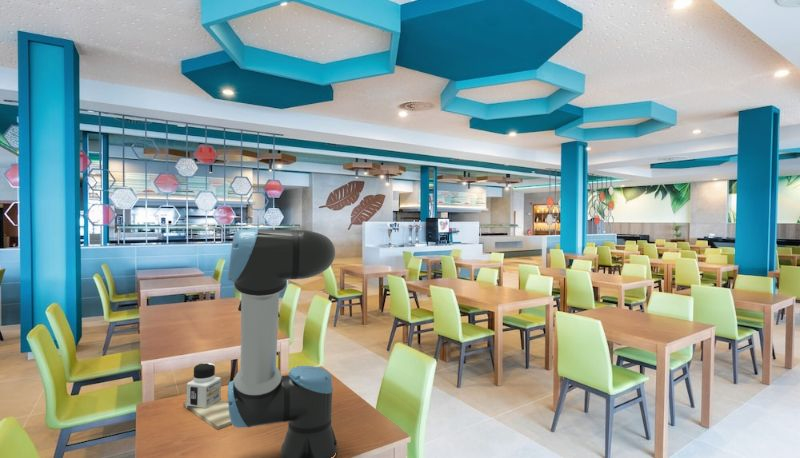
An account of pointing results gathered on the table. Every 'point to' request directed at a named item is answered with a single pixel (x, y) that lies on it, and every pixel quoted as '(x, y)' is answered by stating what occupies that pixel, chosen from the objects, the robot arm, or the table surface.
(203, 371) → the container
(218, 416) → the metal panel
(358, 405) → the table surface
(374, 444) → the table surface
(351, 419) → the table surface
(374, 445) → the table surface
